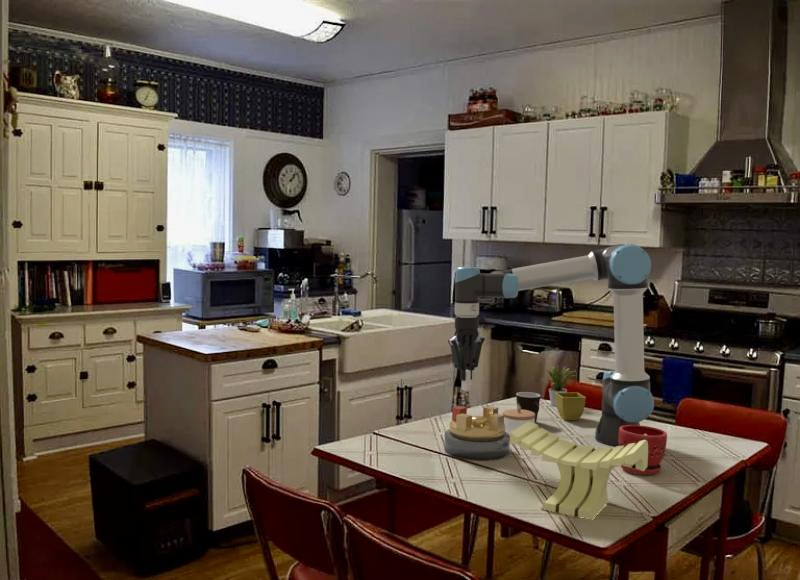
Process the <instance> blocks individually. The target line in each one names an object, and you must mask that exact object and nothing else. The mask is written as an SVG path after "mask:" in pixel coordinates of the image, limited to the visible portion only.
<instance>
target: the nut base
mask: <svg viewBox="0 0 800 580" xmlns="http://www.w3.org/2000/svg"><path fill="white" fill-rule="evenodd" d="M443 444H444V446H443V447H444V452H445V453H446V454H448V455H449V456H451V457H455V458H458V459H462V460H467V459H468V461H478V462H479V461H480V462H481V461H482V462H483V461H494V460H501V459H505V458H507V457H508V456H509V454H510V444H511V443H510V436H509V434H508V433H507V432H506V431H505V437H504V438H502V439H500V440H496V441H486V442H478V441H468V440H462V439H458V438H455V437H453V436H452V435H450V428H449V429H447V430H446V431H445V432H444V443H443Z"/></svg>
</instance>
